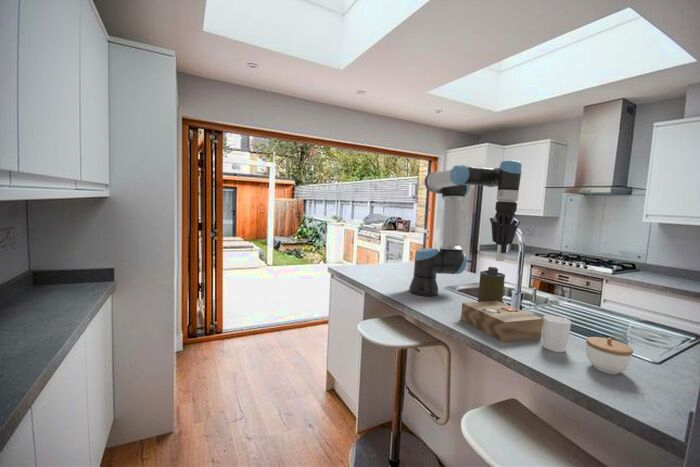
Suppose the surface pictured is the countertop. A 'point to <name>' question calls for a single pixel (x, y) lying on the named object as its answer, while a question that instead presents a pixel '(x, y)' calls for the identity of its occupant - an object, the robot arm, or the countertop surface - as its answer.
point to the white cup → (555, 333)
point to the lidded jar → (608, 354)
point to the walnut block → (502, 321)
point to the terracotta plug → (509, 309)
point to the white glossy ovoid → (491, 311)
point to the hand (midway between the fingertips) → (499, 260)
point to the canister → (491, 285)
